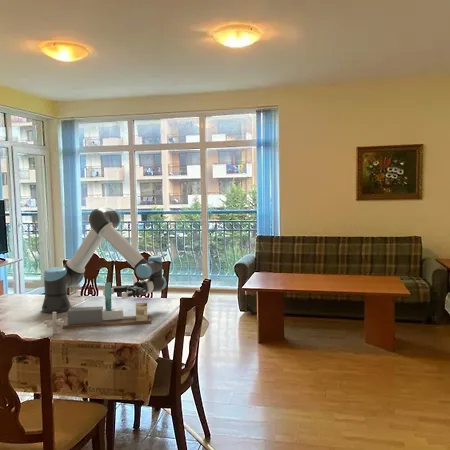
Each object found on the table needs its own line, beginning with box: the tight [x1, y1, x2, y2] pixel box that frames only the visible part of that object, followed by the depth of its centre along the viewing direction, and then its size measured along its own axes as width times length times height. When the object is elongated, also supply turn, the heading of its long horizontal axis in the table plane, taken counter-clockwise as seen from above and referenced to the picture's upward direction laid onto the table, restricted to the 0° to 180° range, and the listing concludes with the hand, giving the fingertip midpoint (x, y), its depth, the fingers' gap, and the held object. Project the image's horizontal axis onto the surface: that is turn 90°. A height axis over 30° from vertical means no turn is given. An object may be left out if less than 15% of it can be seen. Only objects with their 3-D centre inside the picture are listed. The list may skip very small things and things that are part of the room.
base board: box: [62, 314, 152, 329], centre depth 228 cm, size 12×42×1 cm, turn 100°
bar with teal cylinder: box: [102, 282, 124, 319], centre depth 226 cm, size 4×24×18 cm, turn 100°
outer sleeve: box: [67, 306, 104, 324], centre depth 225 cm, size 6×16×6 cm, turn 100°
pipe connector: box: [43, 312, 66, 335], centre depth 210 cm, size 10×10×10 cm
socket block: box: [135, 302, 148, 321], centre depth 230 cm, size 9×6×7 cm, turn 10°
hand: (112, 294), depth 228 cm, fingers open, 13 cm apart
